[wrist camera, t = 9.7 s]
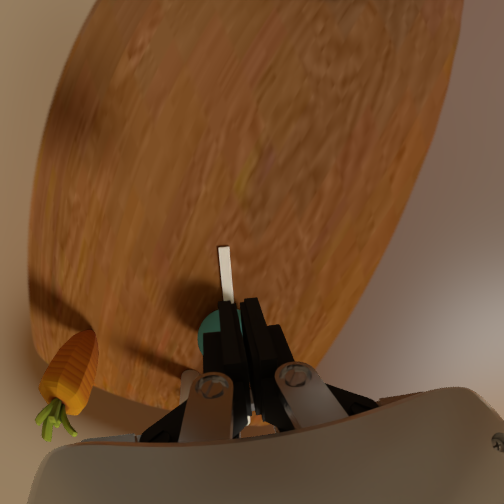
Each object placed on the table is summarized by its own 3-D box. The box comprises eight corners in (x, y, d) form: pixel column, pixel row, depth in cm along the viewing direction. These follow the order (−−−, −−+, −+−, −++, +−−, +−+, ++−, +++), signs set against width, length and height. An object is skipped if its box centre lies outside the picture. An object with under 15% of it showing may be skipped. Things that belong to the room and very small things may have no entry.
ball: (202, 369, 28) (200, 315, 30) (259, 367, 28) (255, 313, 31) (194, 369, 23) (192, 302, 25) (264, 367, 23) (260, 300, 25)
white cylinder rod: (179, 370, 31) (176, 430, 23) (199, 369, 31) (200, 429, 23) (183, 383, 32) (181, 442, 24) (202, 382, 32) (204, 441, 24)
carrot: (94, 306, 27) (38, 411, 13) (120, 340, 29) (85, 450, 15) (66, 321, 27) (10, 417, 13) (91, 353, 29) (52, 452, 15)
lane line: (218, 247, 27) (218, 247, 26) (229, 246, 27) (229, 246, 26) (226, 327, 30) (226, 328, 30) (235, 326, 30) (236, 327, 30)
